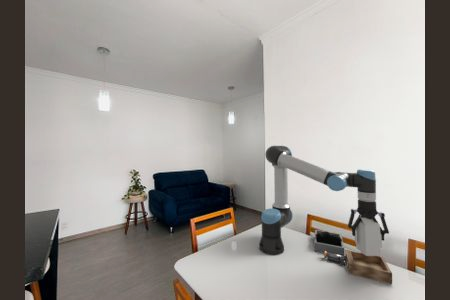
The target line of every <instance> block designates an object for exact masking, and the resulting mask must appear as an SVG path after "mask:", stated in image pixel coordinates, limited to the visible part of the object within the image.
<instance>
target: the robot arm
mask: <svg viewBox="0 0 450 300" xmlns="http://www.w3.org/2000/svg"><path fill="white" fill-rule="evenodd" d="M264 154H265V159H266V160H267V162H268V163H271V166H272V167H273V170H274V171H273V172H274V174H273V176H274V178H273V179H274V202H273V203H272V204H271V205H272V207H271V208H267V209H266V208H265V209H264V210H262V212H261V218H260V219H261V237H260V240H259V242H258V243H259V244H258V245H259V246H258V249H259V250H260V251H261V252H262V253H265V254H267V255H271V256H277V255H281V254H283V253H284V252H285V245H284V242H283V240H282V228H283V227H285V226H286V225H289V224H290V223H291V222H292V220H293V217H294V213H293V211H292V209H291V205H290V204H289V201H288V200H289V199H288V197H289V196H288V170H291V171H292V172H295V173H297V174H300V175H302V176H304V177H307V178H308V179H311V180H314V181H316V182H318V183H320V184H323V185H324V186H327V187H328V188H329V189H330V191H334V192H340V191H343V190H344V189H345V188H347V187H348V188H356V189H357V207H356V209H354V208H351V209H350V217H349V219H348V224H347V228H349V229H351V234H352V236H354V243H355V244H356V243H357V230H356V228H357V226H358V225H359V223H360V222H361V220H362V219H361V217H362V218H367V219H373V221H374V222H376V223H379V221H378V220H377V218H376V216H377V215H378V216H379V218H380V221H381V224H382V227H383V229H382V227H381V226H380V244H381V249H382V248H383V245H382V244H383V243H382V241H385V235H388V234H389V233H390V231H389V227H388V225H387V221H386V219H385V215H386V214H385V212H383V211H378V210H377V179H376V172H375V171H374V170H373V169H361V168H360V169H357V171H356V172H340V171H331V170H328V169H325V168H323V167H320V166H318V165H315V164H313V163H310V162H307V161H305V160H302V159H300V158H297V157H295V156H293V151H292V150H291V149H290V148H289V147H288V146H286V145H285V146H284V145H271V146H269V147H267V148H266V151H265V153H264ZM356 213H357V214H358V217H357V218H356V219H355V215H356ZM360 215H361V217H360ZM359 217H360V218H359ZM375 218H376V219H375ZM354 219H355V221H354ZM377 221H378V222H377ZM353 222H354V223H353Z"/></svg>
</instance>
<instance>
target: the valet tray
mask: <svg viewBox="0 0 450 300" xmlns="http://www.w3.org/2000/svg"><path fill="white" fill-rule="evenodd" d="M314 231H315V232H314V251H315V252H318V253H323V254H324V251H327V252H328V253H333V254H338V255H339V253H343V256H345V245H344V241H343V237H342V234H341V233H336V232H331V231H328V232H329V233H330V234H331V235H335V234H336V235H337V236H340V238H341V239H342V242H341V247H340V246H334V245H329V244H324V243H318V242H317V239H316V236H315V234H318V233H320V234H321V233H323V232H327V230H326V231H325V230H320V229H319V230H318V229H315V230H314Z"/></svg>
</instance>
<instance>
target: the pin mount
mask: <svg viewBox="0 0 450 300" xmlns="http://www.w3.org/2000/svg"><path fill="white" fill-rule="evenodd" d="M339 255H343V253H339ZM345 262H346V261H344V258H340V260H338V259H334V258H329V257H327V263H331V264H336V265H340V266H346V263H345Z"/></svg>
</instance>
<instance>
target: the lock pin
mask: <svg viewBox="0 0 450 300" xmlns="http://www.w3.org/2000/svg"><path fill="white" fill-rule="evenodd" d="M328 257H329V258H334V259H338V260H340V258H344V262H346V257H345V256H343V255H338V254H333V253H328V252H327V251H324V253H323V258H324V259H328Z"/></svg>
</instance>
